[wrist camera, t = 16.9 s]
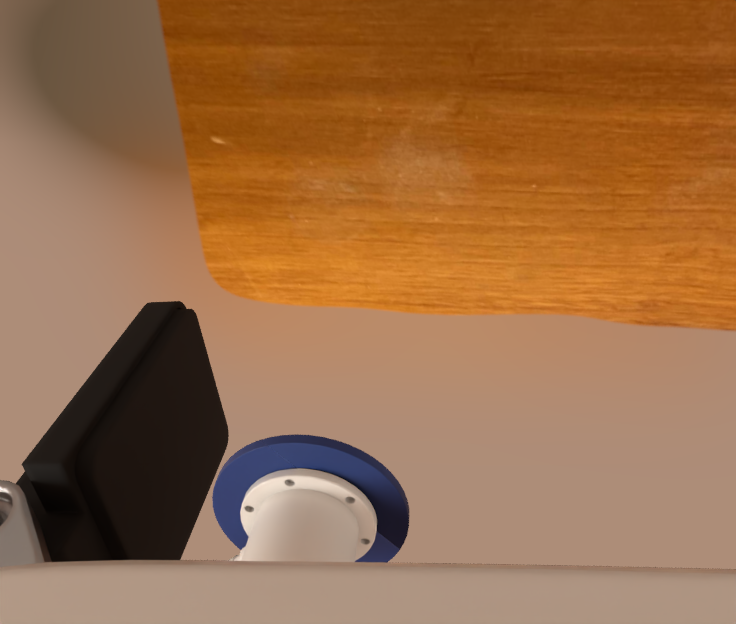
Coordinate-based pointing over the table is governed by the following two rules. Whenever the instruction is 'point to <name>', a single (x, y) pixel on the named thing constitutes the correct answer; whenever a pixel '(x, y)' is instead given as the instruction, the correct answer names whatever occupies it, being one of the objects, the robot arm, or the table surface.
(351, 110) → the table surface
